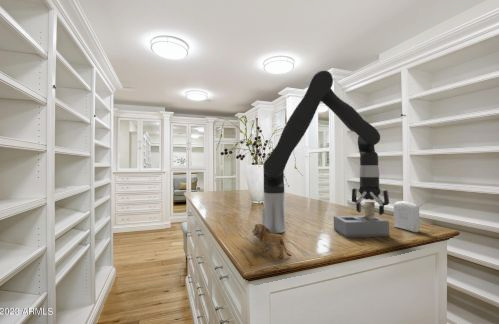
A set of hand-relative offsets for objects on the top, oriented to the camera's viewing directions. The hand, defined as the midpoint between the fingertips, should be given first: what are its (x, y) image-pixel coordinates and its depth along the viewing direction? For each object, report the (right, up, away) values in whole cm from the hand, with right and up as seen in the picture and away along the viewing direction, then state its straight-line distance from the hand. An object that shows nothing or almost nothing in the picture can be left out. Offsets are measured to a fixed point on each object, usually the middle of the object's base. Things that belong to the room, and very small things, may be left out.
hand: (369, 213), depth 101 cm
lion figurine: (-45, -9, -22) cm, 51 cm away
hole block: (-4, -8, 0) cm, 9 cm away
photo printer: (+18, -8, +4) cm, 21 cm away
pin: (0, -7, 0) cm, 7 cm away
